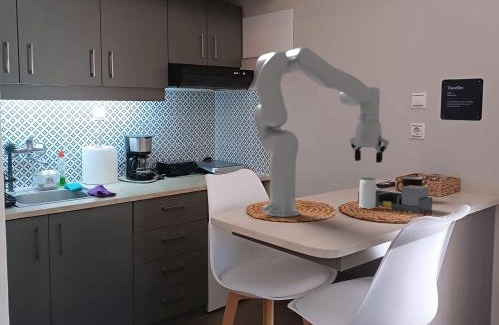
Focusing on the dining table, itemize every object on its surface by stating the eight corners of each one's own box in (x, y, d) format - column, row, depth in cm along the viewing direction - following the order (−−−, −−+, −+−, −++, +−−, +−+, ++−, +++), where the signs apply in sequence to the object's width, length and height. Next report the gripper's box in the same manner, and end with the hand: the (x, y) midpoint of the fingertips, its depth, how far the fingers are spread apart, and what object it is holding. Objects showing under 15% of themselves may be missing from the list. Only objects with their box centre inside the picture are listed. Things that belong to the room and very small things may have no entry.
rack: (419, 213, 190) (420, 189, 189) (357, 203, 210) (358, 182, 209) (431, 210, 196) (432, 187, 195) (370, 201, 216) (371, 180, 215)
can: (371, 210, 196) (372, 180, 195) (356, 208, 200) (357, 178, 199) (378, 207, 201) (379, 178, 200) (363, 206, 205) (363, 177, 204)
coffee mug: (419, 199, 223) (420, 176, 222) (424, 202, 214) (425, 179, 213) (392, 198, 224) (393, 176, 223) (396, 201, 215) (397, 178, 214)
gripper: (345, 118, 201) (344, 160, 203) (383, 118, 189) (382, 163, 191) (355, 118, 207) (355, 159, 208) (393, 118, 194) (392, 162, 196)
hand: (368, 161), depth 200 cm, fingers open, 9 cm apart
